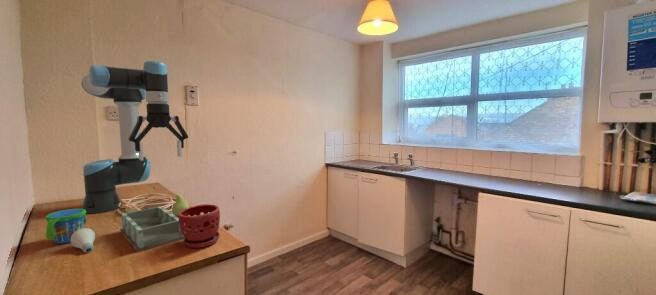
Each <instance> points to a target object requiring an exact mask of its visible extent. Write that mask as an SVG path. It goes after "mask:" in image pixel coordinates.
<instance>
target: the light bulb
mask: <svg viewBox="0 0 656 295" xmlns="http://www.w3.org/2000/svg"><path fill="white" fill-rule="evenodd" d="M95 240H96V233H95V231H94V230H93V229H91V228H88V227H87V228H86V227H83V229H79V230H77V231H75V232H74V233H73V234H72V236H71V242H70V244H71V245H72V246H73V247H74V248H77V249H81V251H82V252H83V253H85V254H87V253H91V252H92V251H93V250H94V242H95Z"/></svg>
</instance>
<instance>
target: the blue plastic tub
mask: <svg viewBox="0 0 656 295" xmlns="http://www.w3.org/2000/svg"><path fill="white" fill-rule="evenodd" d="M86 214H87V213H86V211H85V209H82V208H72V209H71V208H70V209H64V210H58V211H55V212H51V213H49V214H47V215H46V216H45V221H46V222H47V225H46V231H45V238H46V239H47V240H53V241H54V243H56V244H58V245H59V244H60V245H62V244H68V243H71V236H72V234H73V233H74V232H75V231H77V230H79V229H83V228H84V227H85V226H84V225H86V223H87V222H88V221H87V217H86Z"/></svg>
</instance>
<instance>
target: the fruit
mask: <svg viewBox="0 0 656 295" xmlns="http://www.w3.org/2000/svg"><path fill="white" fill-rule="evenodd" d="M169 193H170V194H173V195H175V196H176V197H175V198H176V200H175V203H174V204H173V206H172V207H171V213H172V214H173V215H175V216H176V217H178V214H179V212H180V211H182V210H184V209H186V208H189V207H190V204H189V203H188V202H187V201H186V199H185V198H184V197H183V196H182V195H181V194H179V193H175V192H172V191H170V190H169Z"/></svg>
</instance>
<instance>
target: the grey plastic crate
mask: <svg viewBox="0 0 656 295" xmlns="http://www.w3.org/2000/svg"><path fill="white" fill-rule="evenodd" d="M121 223H122V224H121V225H122V228H121V229H119V231H120V233H121V235H122V236H123V237H124V239H125V240H127V242H128V243H129V244H130V246H131V247H133V249H134V250H135V251H136V253H140V252H143V251H147V250H148V251H149V250H150V249H154V248H157V247H161V246H165V245H169V244H172V243H175V242H179V241H181V240H182V241H183V240H184V239H185V237H184V236H183V234H182V232H181V229H180V225H179V218H178V216H175V215H174V214H173V213H172V212H170V211H169V210H167V209H165V208H164V207H162V206H160V205H159V206H155V207H149V208H145V209H139V210H135V211H134V210H133V211H131V212H125V213H121Z"/></svg>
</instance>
